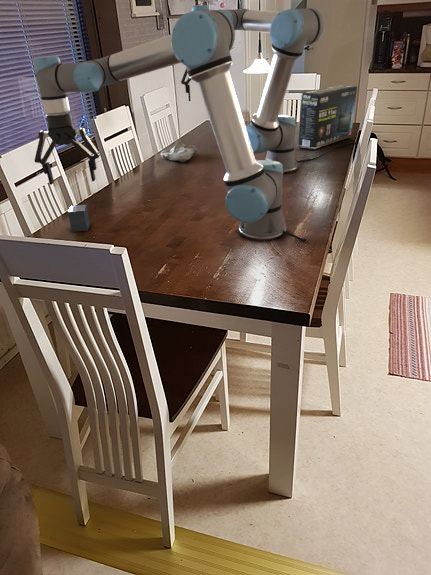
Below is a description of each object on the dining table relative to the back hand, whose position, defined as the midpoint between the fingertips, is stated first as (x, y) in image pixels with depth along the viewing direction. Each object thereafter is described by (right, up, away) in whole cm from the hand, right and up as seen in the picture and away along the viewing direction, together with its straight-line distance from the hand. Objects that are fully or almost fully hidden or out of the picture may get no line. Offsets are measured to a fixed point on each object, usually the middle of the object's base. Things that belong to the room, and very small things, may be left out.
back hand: (204, 100), depth 208 cm
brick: (-41, -65, -50) cm, 91 cm away
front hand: (-42, -51, -58) cm, 88 cm away
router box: (+64, -8, +37) cm, 74 cm away
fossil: (-14, -20, +22) cm, 33 cm away
